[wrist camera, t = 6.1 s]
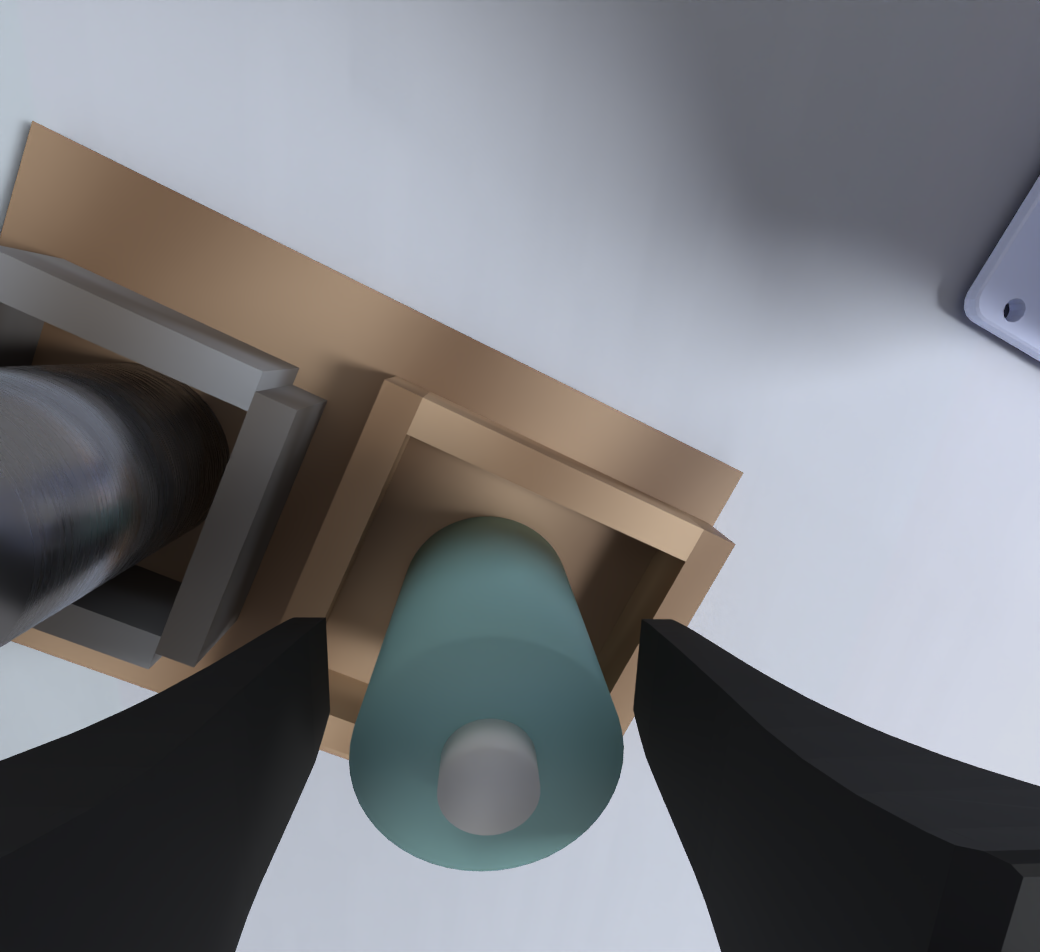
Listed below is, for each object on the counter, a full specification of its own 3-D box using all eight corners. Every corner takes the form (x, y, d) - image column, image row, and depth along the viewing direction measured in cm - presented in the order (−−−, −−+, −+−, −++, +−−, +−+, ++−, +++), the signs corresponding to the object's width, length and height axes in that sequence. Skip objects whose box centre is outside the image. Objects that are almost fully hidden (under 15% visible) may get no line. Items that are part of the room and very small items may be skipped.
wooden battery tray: (732, 467, 14) (788, 494, 11) (537, 809, 16) (547, 898, 13) (55, 132, 11) (-71, 69, 9) (-76, 589, 13) (-211, 647, 11)
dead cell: (255, 412, 12) (32, 472, 6) (195, 566, 13) (-57, 756, 7) (69, 329, 11) (-380, 307, 5) (17, 497, 12) (-430, 639, 6)
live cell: (564, 510, 13) (633, 646, 7) (570, 660, 14) (635, 893, 8) (394, 523, 13) (316, 675, 7) (412, 675, 14) (358, 924, 8)
